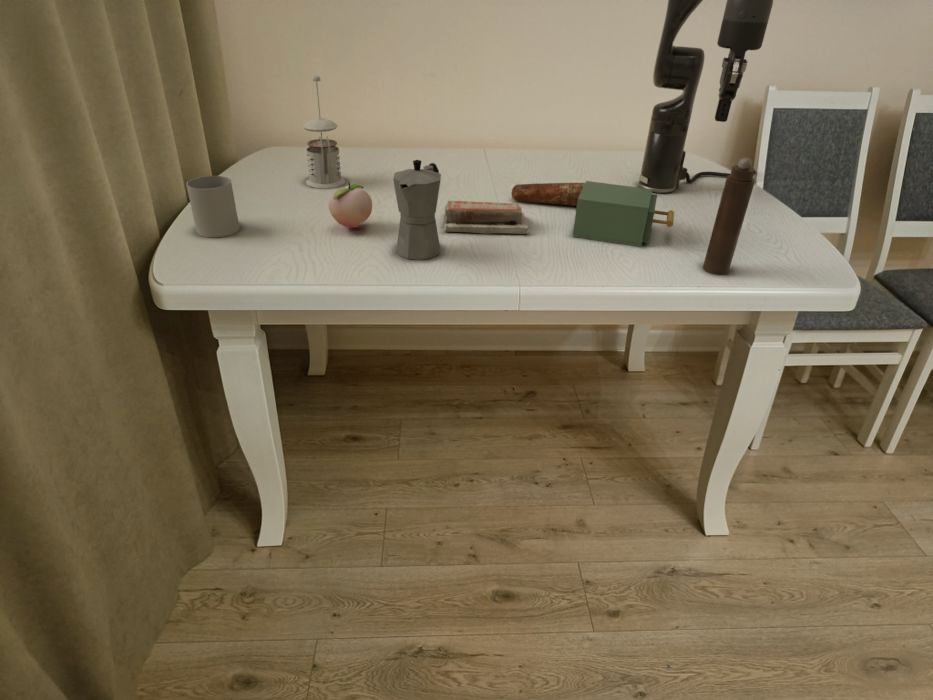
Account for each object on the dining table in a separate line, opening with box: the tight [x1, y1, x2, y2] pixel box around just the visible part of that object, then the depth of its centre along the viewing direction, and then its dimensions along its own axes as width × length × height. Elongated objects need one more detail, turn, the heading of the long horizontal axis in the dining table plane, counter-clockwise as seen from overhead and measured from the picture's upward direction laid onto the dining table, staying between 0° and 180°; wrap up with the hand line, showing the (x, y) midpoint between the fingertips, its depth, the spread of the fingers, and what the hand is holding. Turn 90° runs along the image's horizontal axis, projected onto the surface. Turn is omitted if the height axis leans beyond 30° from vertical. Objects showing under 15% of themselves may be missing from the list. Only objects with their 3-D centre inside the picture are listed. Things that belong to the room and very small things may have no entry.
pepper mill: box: [702, 156, 756, 276], centre depth 115 cm, size 5×5×22 cm
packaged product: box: [443, 200, 529, 235], centre depth 135 cm, size 18×5×10 cm
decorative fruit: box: [328, 181, 373, 229], centre depth 129 cm, size 9×8×10 cm
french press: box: [302, 74, 346, 189], centre depth 149 cm, size 10×12×25 cm
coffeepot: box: [392, 159, 442, 261], centre depth 120 cm, size 15×9×18 cm, turn 159°
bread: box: [511, 182, 585, 207], centre depth 148 cm, size 6×19×6 cm, turn 80°
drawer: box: [642, 193, 675, 244], centre depth 133 cm, size 18×11×7 cm, turn 73°
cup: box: [186, 175, 240, 238], centre depth 127 cm, size 8×8×10 cm
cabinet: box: [572, 180, 653, 248], centre depth 133 cm, size 14×12×8 cm
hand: (720, 120), depth 118 cm, fingers closed
